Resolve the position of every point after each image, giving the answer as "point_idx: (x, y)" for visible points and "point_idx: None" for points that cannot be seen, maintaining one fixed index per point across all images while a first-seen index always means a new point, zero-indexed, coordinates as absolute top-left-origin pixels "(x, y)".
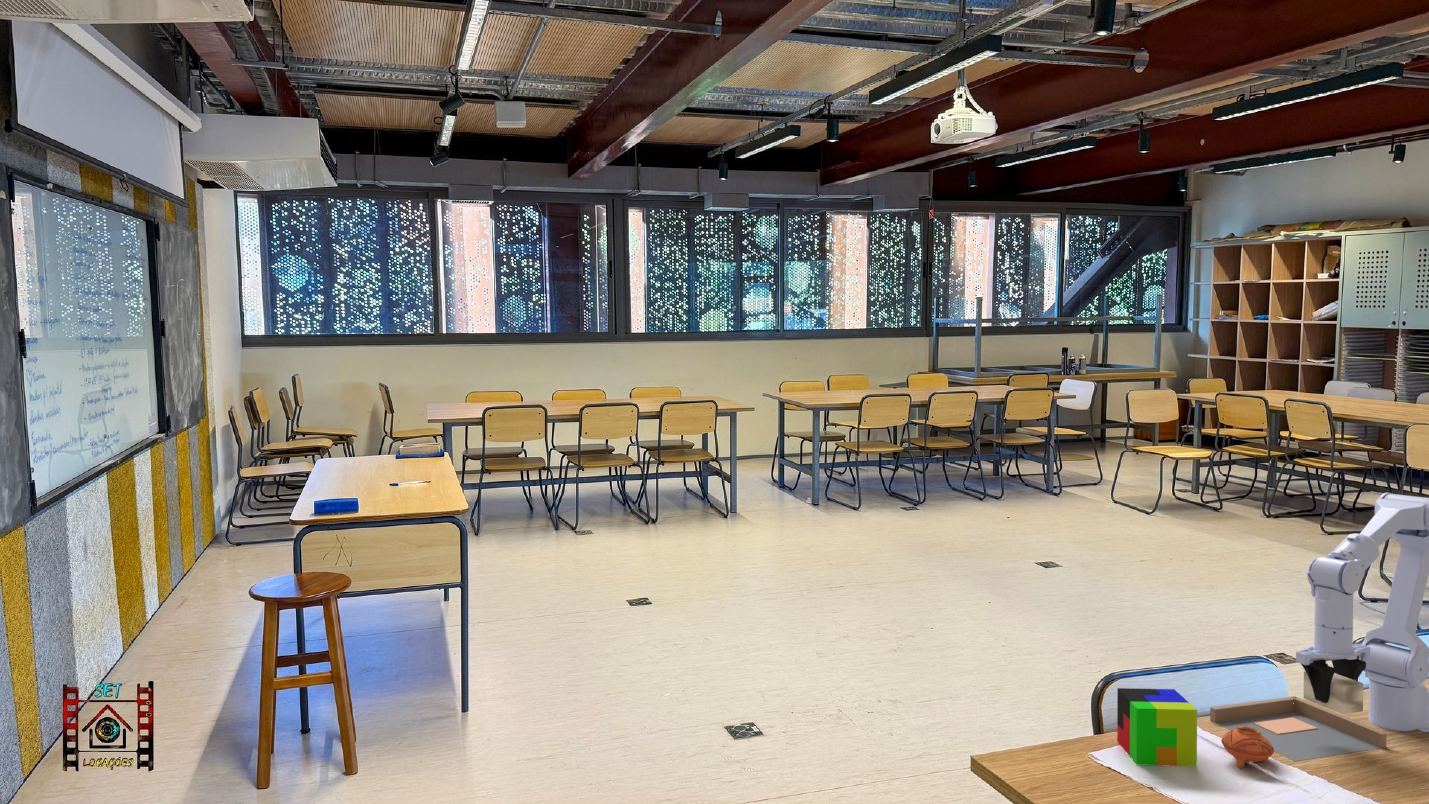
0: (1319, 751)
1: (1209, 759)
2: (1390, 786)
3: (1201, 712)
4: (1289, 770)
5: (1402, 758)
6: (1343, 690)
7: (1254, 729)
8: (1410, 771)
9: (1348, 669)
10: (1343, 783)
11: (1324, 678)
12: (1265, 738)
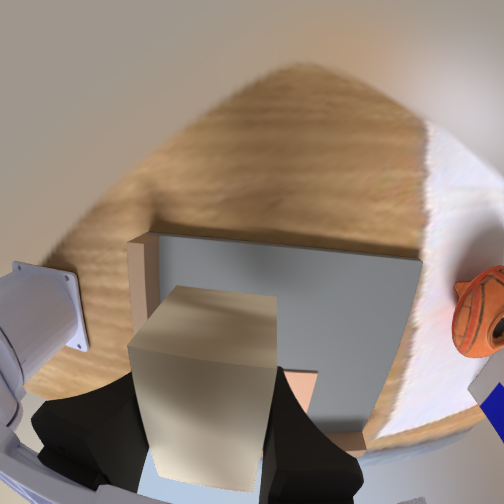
0: (324, 279)
1: None
2: (328, 95)
3: None
4: (444, 246)
5: (147, 192)
6: (276, 352)
7: (492, 332)
8: (199, 131)
9: (120, 440)
10: (409, 153)
11: (327, 437)
12: (492, 302)
